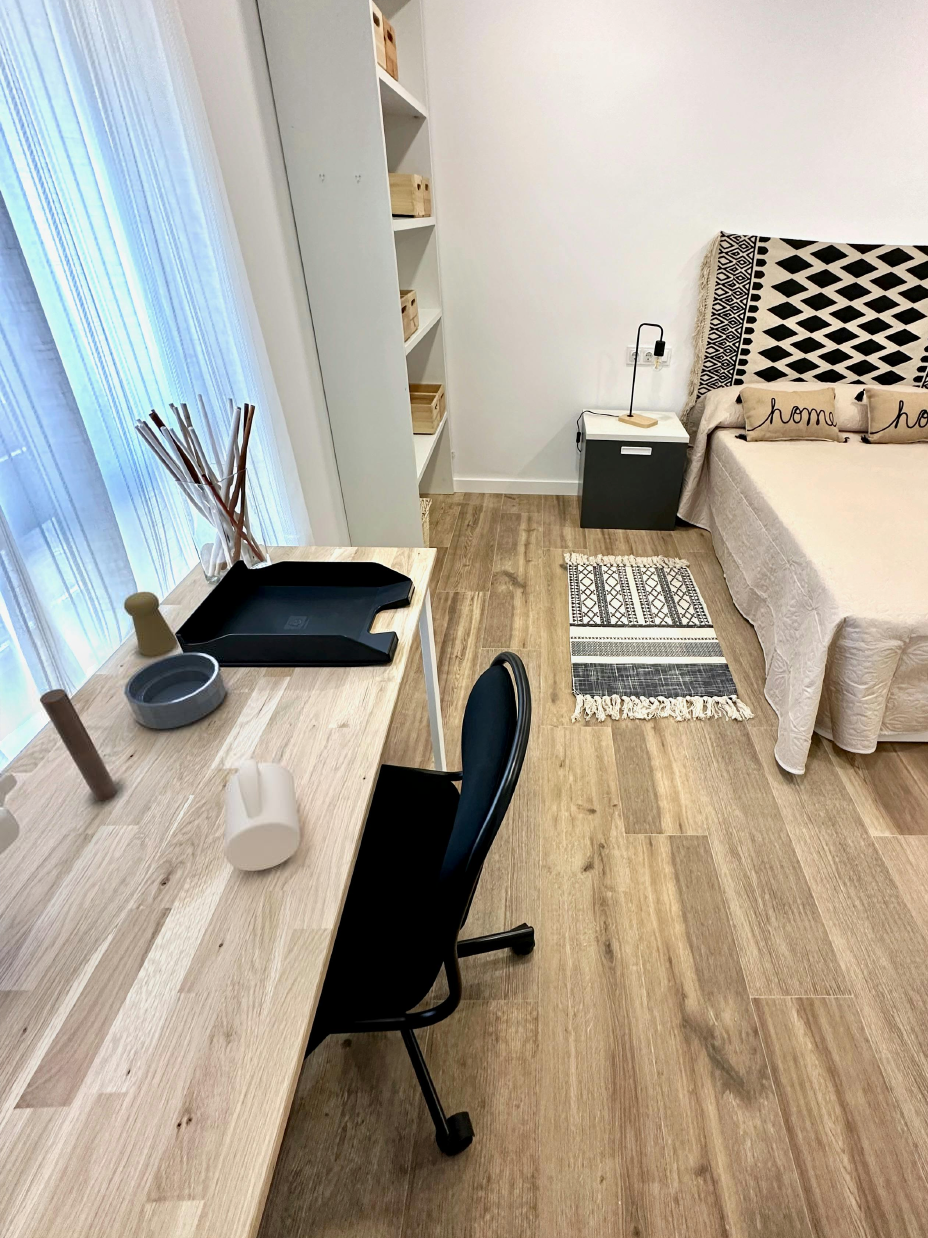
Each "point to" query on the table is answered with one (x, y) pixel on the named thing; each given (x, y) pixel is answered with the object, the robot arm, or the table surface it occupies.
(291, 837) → the mug
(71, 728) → the brown cylindrical rod
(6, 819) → the robot arm
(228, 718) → the table surface
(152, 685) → the bowl
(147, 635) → the pepper mill
